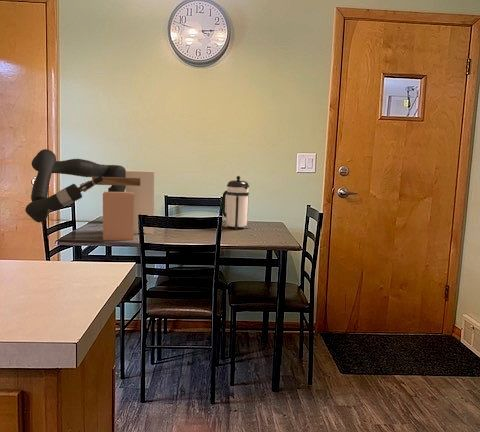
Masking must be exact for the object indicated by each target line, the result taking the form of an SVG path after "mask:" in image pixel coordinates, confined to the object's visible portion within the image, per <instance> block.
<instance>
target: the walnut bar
mask: <svg viewBox="0 0 480 432" xmlns="http://www.w3.org/2000/svg"><path fill="white" fill-rule="evenodd" d="M96 178H98V177H91V180H94V179H96ZM102 178H103V181H101V182H99V183H97V184H96V185H95V186H112V185H126V186H140V178H121V177H102Z"/></svg>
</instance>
